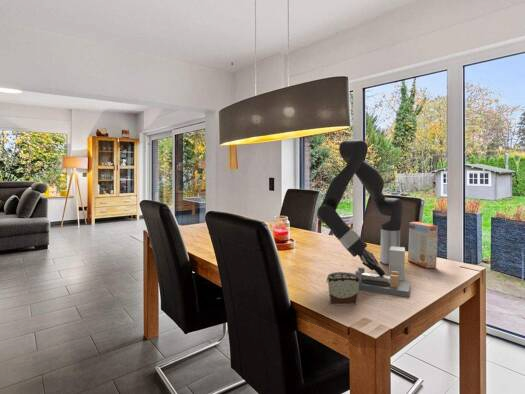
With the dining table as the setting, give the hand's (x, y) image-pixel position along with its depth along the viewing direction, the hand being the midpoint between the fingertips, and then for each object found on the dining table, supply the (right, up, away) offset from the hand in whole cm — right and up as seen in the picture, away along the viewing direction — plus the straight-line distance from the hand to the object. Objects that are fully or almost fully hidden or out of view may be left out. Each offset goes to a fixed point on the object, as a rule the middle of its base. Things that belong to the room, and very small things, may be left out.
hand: (383, 275), depth 136 cm
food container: (-20, -7, -13) cm, 25 cm away
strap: (-8, -1, +4) cm, 9 cm away
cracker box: (+32, -3, +34) cm, 46 cm away
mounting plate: (-3, -5, +2) cm, 6 cm away
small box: (+11, -4, +14) cm, 18 cm away
